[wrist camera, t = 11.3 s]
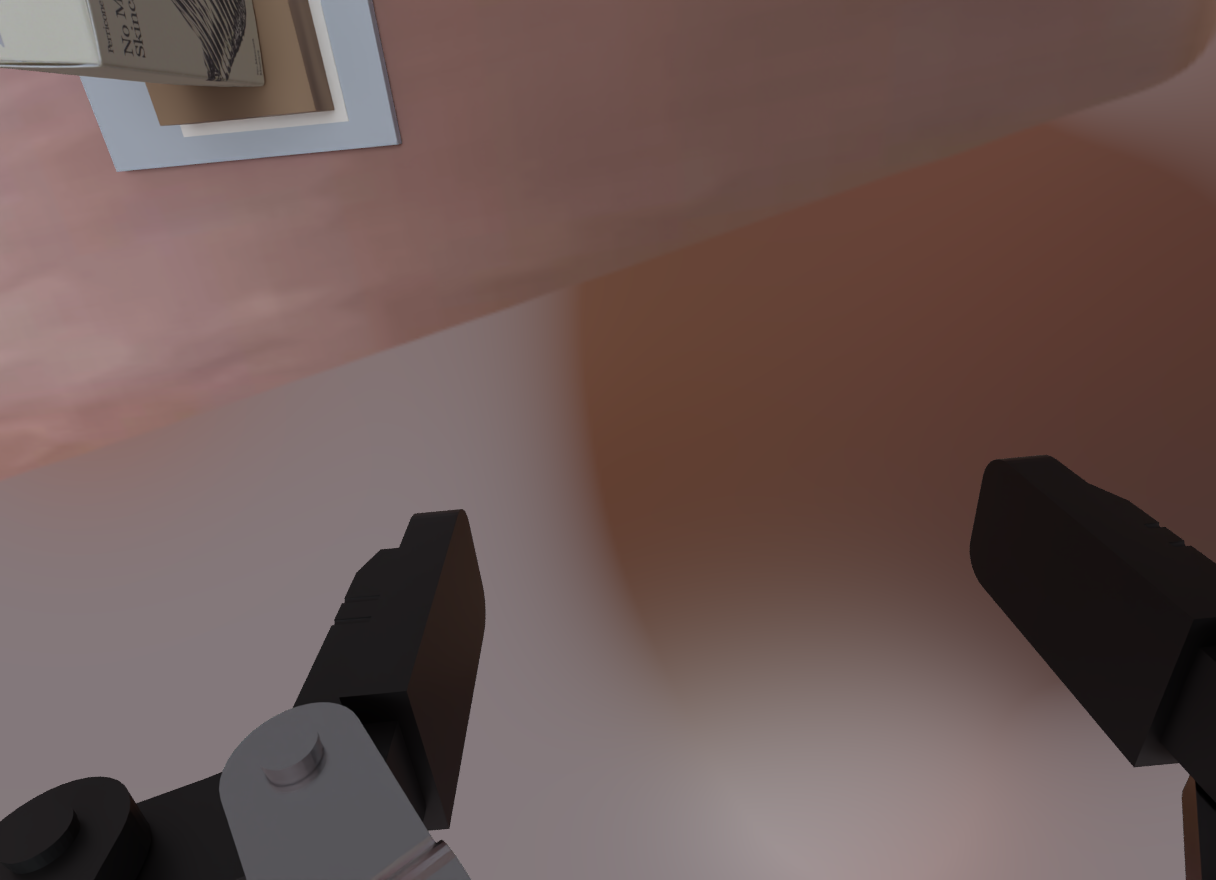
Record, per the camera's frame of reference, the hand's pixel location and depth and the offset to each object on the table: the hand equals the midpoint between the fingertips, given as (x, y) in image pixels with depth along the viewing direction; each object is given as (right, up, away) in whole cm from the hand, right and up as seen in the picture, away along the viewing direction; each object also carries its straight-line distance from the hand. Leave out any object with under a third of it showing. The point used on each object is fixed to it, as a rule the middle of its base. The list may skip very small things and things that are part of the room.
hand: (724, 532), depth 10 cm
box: (-21, +22, +22) cm, 37 cm away
